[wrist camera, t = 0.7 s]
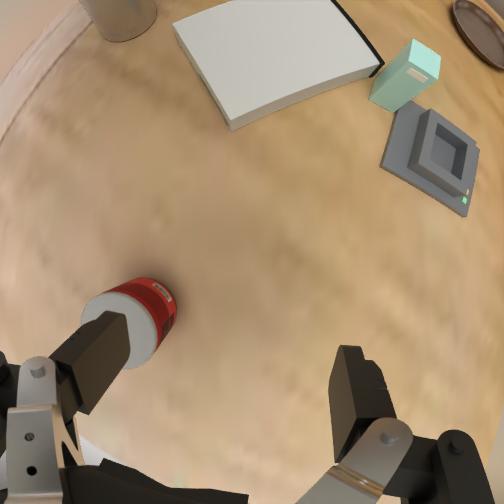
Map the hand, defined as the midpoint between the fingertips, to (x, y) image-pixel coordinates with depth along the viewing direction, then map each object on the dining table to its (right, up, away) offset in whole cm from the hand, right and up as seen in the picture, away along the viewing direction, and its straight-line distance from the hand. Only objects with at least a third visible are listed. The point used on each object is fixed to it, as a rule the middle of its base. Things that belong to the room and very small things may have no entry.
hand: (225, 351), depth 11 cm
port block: (+27, +17, +27) cm, 42 cm away
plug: (+20, +26, +26) cm, 42 cm away
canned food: (-12, -3, +27) cm, 29 cm away
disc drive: (+4, +31, +26) cm, 41 cm away
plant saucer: (+47, +47, +27) cm, 72 cm away
